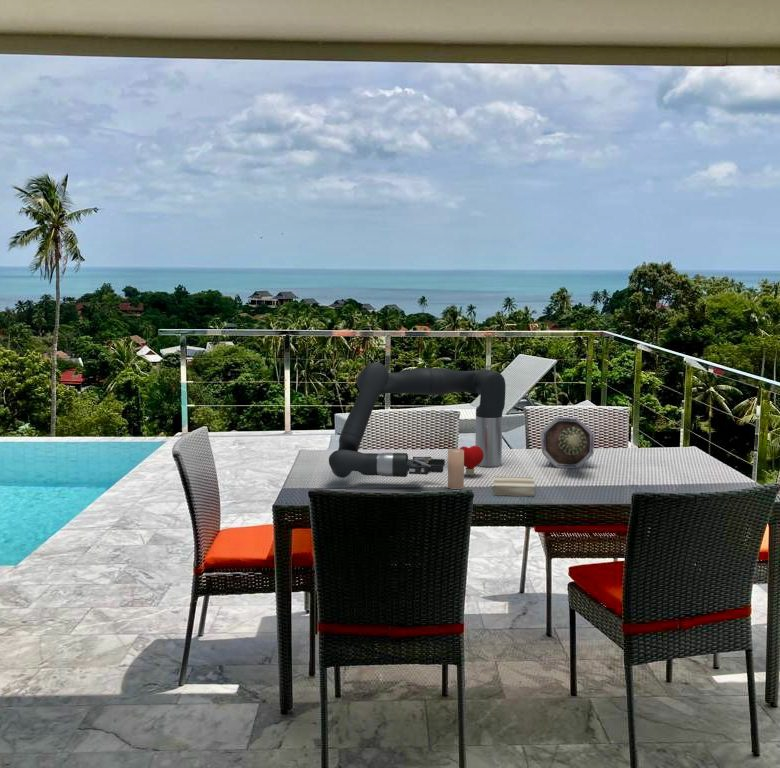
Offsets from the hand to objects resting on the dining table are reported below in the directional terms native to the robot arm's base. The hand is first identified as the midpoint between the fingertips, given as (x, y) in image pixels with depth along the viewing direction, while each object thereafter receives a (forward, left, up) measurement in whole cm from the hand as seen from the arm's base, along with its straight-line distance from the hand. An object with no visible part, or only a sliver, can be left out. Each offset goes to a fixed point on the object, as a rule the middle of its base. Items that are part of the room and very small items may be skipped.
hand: (444, 465), depth 265 cm
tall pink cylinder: (0, +4, -7) cm, 8 cm away
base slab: (+2, +22, -7) cm, 23 cm away
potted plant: (-31, +41, -7) cm, 52 cm away
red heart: (-16, +8, -7) cm, 19 cm away
